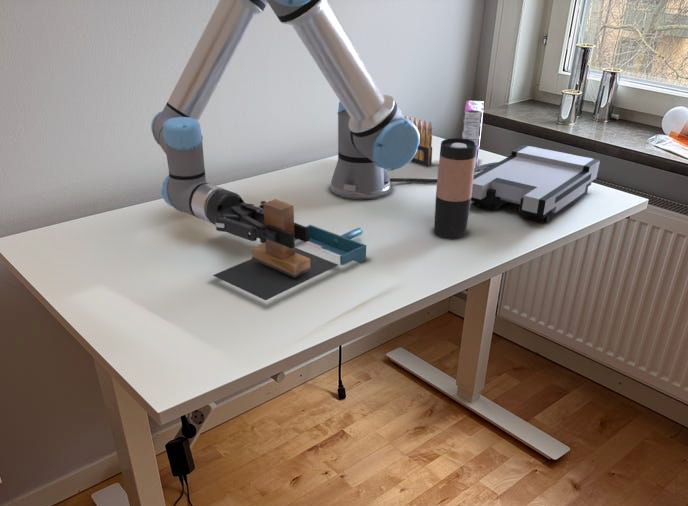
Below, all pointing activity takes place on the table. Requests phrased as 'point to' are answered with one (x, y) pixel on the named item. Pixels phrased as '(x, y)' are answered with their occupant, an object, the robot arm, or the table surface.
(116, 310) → the table surface
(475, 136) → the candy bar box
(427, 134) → the ammunition clip
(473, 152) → the travel mug
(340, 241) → the dustpan
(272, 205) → the wooden block on base
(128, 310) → the table surface
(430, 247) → the table surface
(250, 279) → the chalkboard
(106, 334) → the table surface
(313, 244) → the chalk
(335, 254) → the chalk
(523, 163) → the game console
